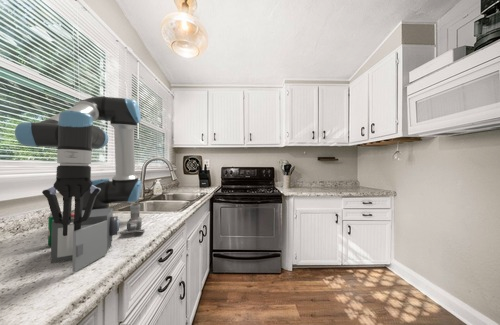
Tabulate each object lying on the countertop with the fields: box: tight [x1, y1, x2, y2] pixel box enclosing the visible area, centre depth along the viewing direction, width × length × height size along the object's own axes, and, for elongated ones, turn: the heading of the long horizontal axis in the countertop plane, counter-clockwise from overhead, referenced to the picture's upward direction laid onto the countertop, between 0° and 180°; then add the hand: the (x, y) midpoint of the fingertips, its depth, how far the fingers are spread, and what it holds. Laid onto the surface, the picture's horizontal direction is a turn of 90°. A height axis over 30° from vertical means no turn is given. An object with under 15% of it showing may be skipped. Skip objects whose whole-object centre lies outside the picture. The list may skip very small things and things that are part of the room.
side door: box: [71, 220, 108, 272], centre depth 61 cm, size 2×12×11 cm, turn 176°
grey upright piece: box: [119, 203, 145, 235], centre depth 90 cm, size 9×12×15 cm
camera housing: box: [50, 207, 120, 264], centre depth 71 cm, size 14×16×14 cm
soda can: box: [47, 211, 63, 247], centre depth 76 cm, size 5×5×12 cm
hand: (71, 246), depth 57 cm, fingers closed
